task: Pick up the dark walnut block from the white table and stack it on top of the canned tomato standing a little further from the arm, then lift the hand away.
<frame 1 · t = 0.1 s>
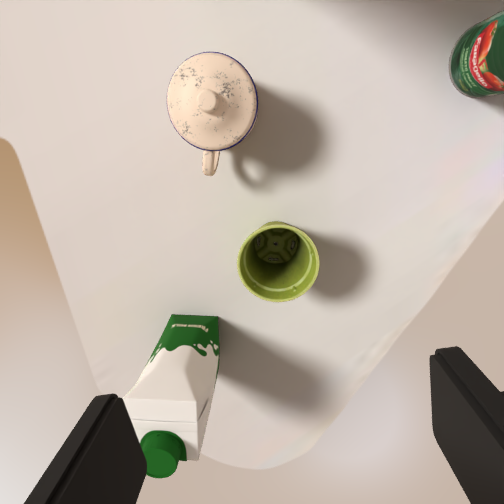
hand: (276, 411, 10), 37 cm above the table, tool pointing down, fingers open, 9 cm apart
canned tomato: (483, 60, 40), on the table
milk carton: (195, 334, 53), on the table
plant pot: (276, 242, 48), on the table
teacup with lid: (221, 122, 43), on the table
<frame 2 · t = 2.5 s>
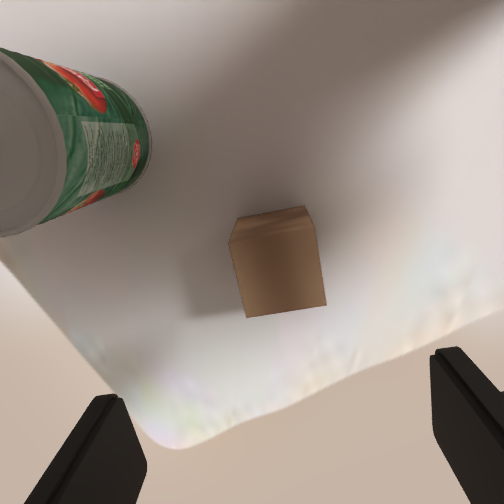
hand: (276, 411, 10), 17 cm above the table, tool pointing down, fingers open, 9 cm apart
canned tomato: (97, 138, 25), on the table
walnut block: (276, 243, 26), on the table
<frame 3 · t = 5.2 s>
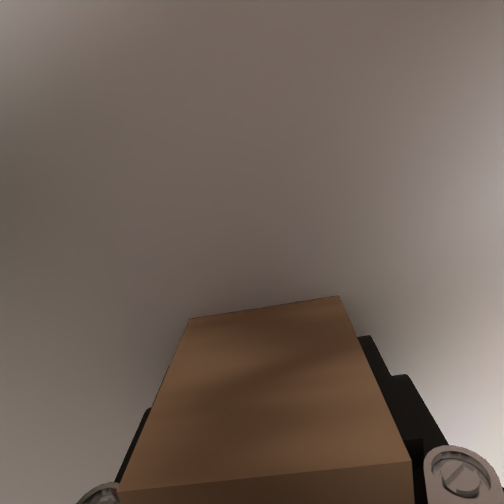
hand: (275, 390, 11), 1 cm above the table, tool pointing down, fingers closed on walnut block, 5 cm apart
walnut block: (275, 370, 12), on the table, touching gripper
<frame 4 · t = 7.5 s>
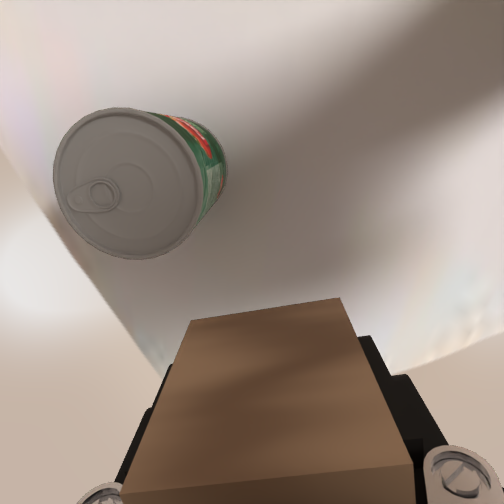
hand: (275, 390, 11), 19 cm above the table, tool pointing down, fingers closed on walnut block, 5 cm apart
canned tomato: (180, 168, 29), on the table
walnut block: (276, 371, 12), point 18 cm above the table, touching gripper
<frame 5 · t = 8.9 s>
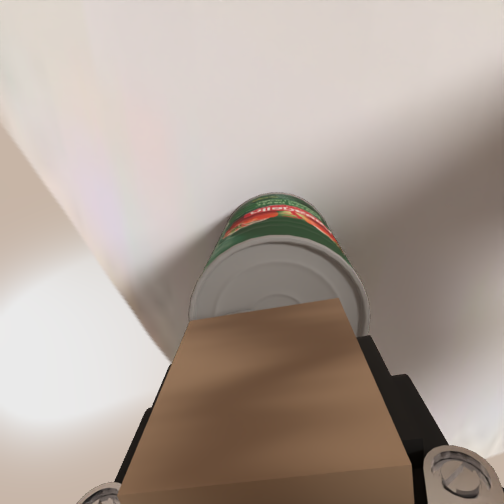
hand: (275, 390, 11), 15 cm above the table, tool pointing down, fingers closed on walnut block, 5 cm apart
canned tomato: (275, 245, 26), on the table
walnut block: (275, 372, 12), point 14 cm above the table, touching gripper
when the fingers open (13 cm above the table, at t = 10.0 s): walnut block stays where it is, resting on canned tomato.
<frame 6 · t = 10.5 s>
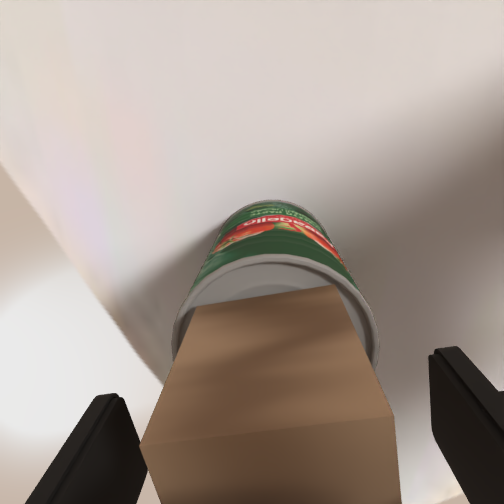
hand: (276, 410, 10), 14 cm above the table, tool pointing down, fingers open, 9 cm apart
canned tomato: (271, 256, 24), on the table, touching walnut block
walnut block: (276, 354, 13), point 11 cm above the table, touching canned tomato
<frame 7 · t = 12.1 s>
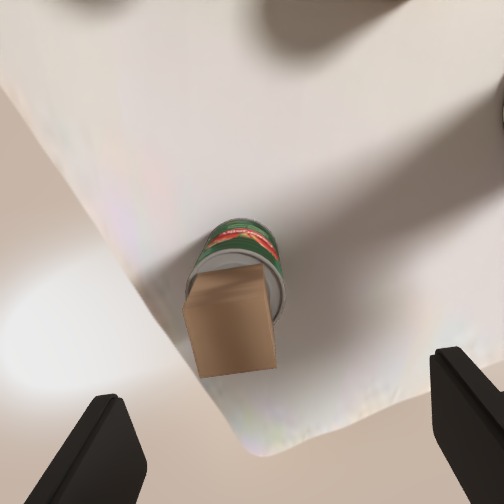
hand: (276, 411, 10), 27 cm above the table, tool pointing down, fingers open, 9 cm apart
canned tomato: (241, 252, 38), on the table, touching walnut block
walnut block: (236, 297, 27), point 11 cm above the table, touching canned tomato
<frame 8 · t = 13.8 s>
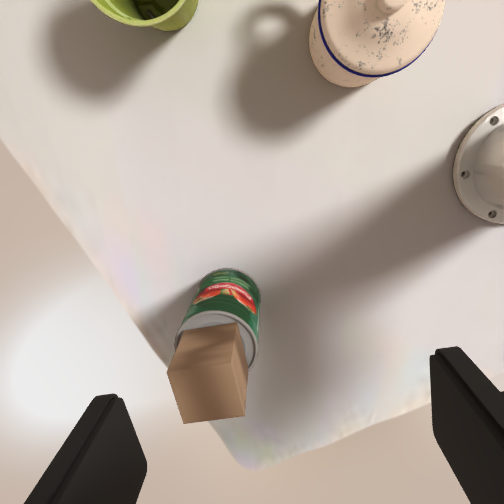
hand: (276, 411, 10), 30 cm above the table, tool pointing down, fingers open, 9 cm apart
canned tomato: (228, 296, 43), on the table, touching walnut block
walnut block: (216, 349, 33), point 11 cm above the table, touching canned tomato
teacup with lid: (342, 27, 33), on the table
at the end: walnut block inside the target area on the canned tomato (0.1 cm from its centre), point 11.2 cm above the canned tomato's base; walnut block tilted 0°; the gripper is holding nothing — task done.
